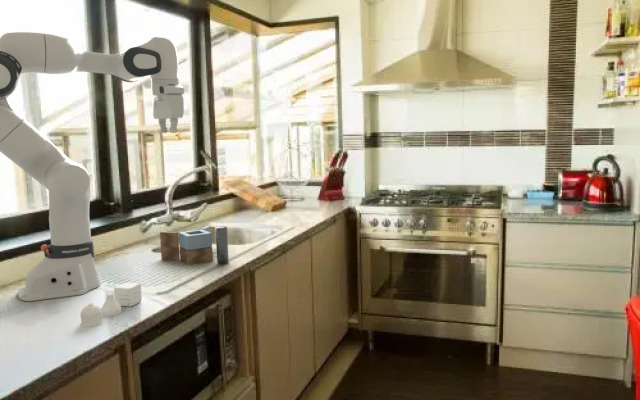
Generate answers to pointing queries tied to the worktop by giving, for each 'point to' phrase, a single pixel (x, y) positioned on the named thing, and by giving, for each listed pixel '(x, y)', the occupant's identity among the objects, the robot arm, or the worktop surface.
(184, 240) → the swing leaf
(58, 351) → the worktop surface
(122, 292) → the container set
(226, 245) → the dark grey tall bar
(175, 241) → the hinge frame
